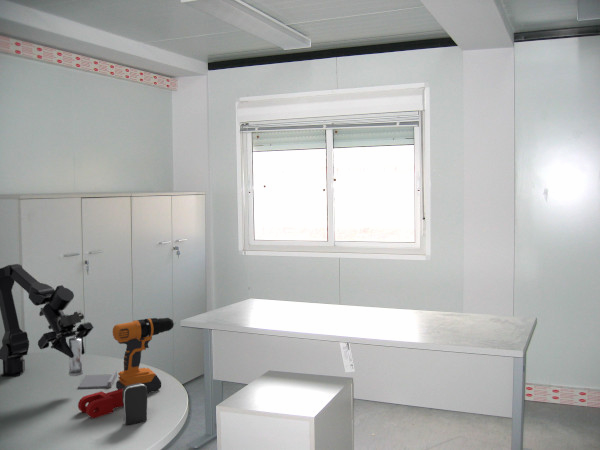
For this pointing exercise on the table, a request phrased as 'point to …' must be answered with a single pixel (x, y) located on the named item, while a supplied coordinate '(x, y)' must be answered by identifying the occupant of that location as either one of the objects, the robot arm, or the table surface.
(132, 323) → the power drill
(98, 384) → the bracket
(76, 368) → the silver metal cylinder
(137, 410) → the battery charger
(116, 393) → the mechanical linkage
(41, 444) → the table surface
